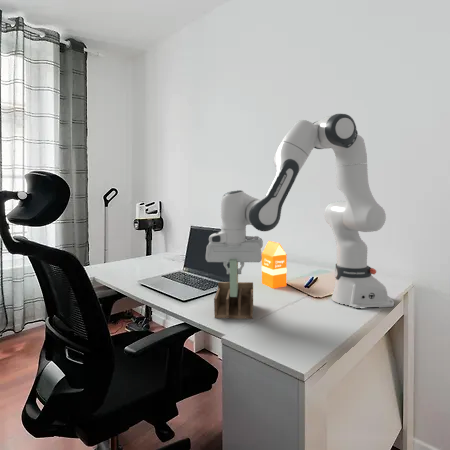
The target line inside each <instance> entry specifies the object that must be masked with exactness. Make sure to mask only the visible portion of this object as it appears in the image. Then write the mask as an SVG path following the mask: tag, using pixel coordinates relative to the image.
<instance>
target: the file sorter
mask: <svg viewBox="0 0 450 450" xmlns="http://www.w3.org/2000/svg"><path fill="white" fill-rule="evenodd" d="M213 302H214V303H213V306H214V308H213V309H214V310H213V311H214V314H213V315H214V319H236V320H237V319H241V320H243V319H246V320H253V319H254V282H253V281H252V282H250V281H249V282H247V281H246V282H240V281H238V293H237V297H230V281H218V282H217V290H216V292H215V295H214V298H213Z"/></svg>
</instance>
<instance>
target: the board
mask: <svg viewBox="0 0 450 450" xmlns="http://www.w3.org/2000/svg"><path fill="white" fill-rule="evenodd" d="M229 268H230V274H229V282H230V297H237V293H238V282H239V274H237V268H239V262H237V259H230V262H229Z"/></svg>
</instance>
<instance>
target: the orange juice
mask: <svg viewBox="0 0 450 450" xmlns="http://www.w3.org/2000/svg"><path fill="white" fill-rule="evenodd" d="M261 253H262V260H261V284H262V285H265V286H267V287H269V288H271V289H278V288H283V287H287V274H288V273H287V272H288V271H287V269H288V268H287V261H288V259H287V256H288V255H287V253H286V252H285V250H284V248H283V246H282V245H281V243H280V242H276V241H271V240H268V242H267V243H266V245H265V247H264V249H263V251H261Z"/></svg>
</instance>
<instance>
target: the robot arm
mask: <svg viewBox="0 0 450 450" xmlns="http://www.w3.org/2000/svg"><path fill="white" fill-rule="evenodd" d="M313 149H315V150H316V149H317V150H326V149H327V150H328V149H332V150H333V152H334V155H335V178H336V182H335V184H336V188H337V189H338V190H339V191H341V193H342V194H343V197H345V200H339V201H338V200H337V201H334V202H333V201H332V202H331V203H329V204H328V205H327V206H326V207H325V210H324V213H323V215H324V219H325V221H326V223H327V224H328V225H329V226H330V228H331V231H332V232H333V237H334V239H335V243H336V245H335V246H336V263H335V267H334V278H335V282H334V287H333V288H334V289H333V290H332V291H333V293H332V295H331V300H332V301H334V302H335V303H336V304H339V303H340V304H339V305H343V304H345V305H344V306H347V305H349V306H348V307H350V306H353V307H356V308H360V307H379V308H391V307H392V308H393V307H394V306H395V301H394V300H393V298H391V297H390V296H389V295H388V290H387V288H386V286H385V285H384V283H382V282H381V281H380V280H378V279H377V278H376V277H374V275H376V273H377V270H376V269H375V268H373V267H371V266H369V265H368V245H367V244H366V242H365V241H363V239H362V238H361V235H360V234H359V232H361V233H372V232H378V231H379V230H381V229H382V228H383V227H384V225H385V223H386V220H387V216H386V215H387V214H386V211H385V209H384V208H383V206H381V205H380V204H379V203H378V202H377V200H376V199H375V197H374V195H373V192H372V191H371V188H370V185H369V184H370V183H369V175H368V173H369V172H368V170H369V169H368V156H367V155H368V154H367V148H366V143H365V139H364V138H363V137H362V136H361V135H359V134H358V130H357V125H356V123H355V120H354V118H353V117H352V116H350V115H348V114H347V113H335V114H333V115H328V116H326V117H323V118H321V119H320V120H316V121H315V122H311V121H309V120H306V119H305V120H304V119H301V120H298V121H296V122H295V123H294V124H293V125H292V126H291V127H290V128H289V130H288V131H287V132H286V134H285V136H284V137H282V140H281V141H280V144H279V145H278V147H277V149H276V150H275V154H274V155H273V164H274V167H275V170H276V172H275V176H274V179H273V180H272V183H271V184H270V187H269V188H268V190H267V192H266V194H265V195H264V197H263V198H261V199H259V198H255V197H254V196H252V195H250V194H247V193H246V192H245V191H244V190H242V189H241V190H238V189H237V190H233V191H232V190H231V191H228V192H226V193H224V194H223V195H222V198H221V200H220V201H221V203H220V217H221V226H220V231H217V232H214V233H212V234H210V235H209V237H208V244H207V245H206V251H205V260H206V262H207V263H223V266H224V268H225V270H226V275H230V267H229V266H228V264H229V263H230V259H237V262H238V263H239V264H240V266H239V267H238V268H237V274H238V275H242V270H243V268H244V266H245V263H262V248H263V245H264V239H262V237H259V236H258V235H255V236H253V235H252V236H250V235H249V236H248V235H247V229H246V228H247V226H249V225H251V226H252V227H253V228H254V229H256V230H257V231H259V232H269V231H271V230H274V229H275V228H276V227H277V226H278V224H279V223H280V219H281V216H282V215H281V214H282V208H283V205H284V203H285V201H286V199H287V197H288V194H289V193H290V190H291V189H292V186H294V183H295V181H296V179H297V176H298V175H299V174H300V171H301V169H302V168H303V166H304V165H305V163H306V161H307V159H309V156H310V154H311V153H312V150H313ZM353 307H352V308H353ZM356 308H355V309H356Z"/></svg>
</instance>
